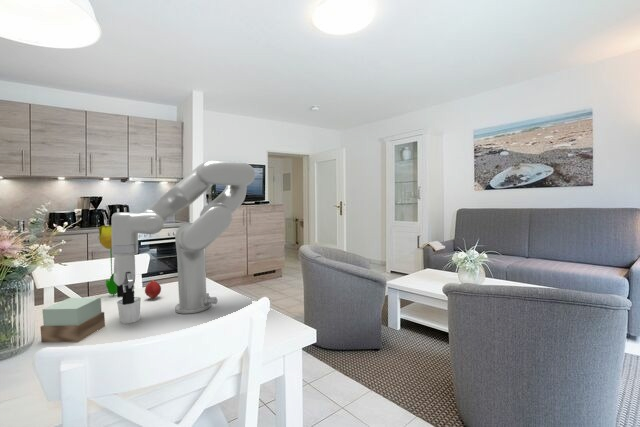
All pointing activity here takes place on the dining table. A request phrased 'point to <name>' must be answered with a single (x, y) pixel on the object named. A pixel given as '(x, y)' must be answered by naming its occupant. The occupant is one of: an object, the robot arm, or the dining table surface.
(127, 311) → the white cup
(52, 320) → the tower top block
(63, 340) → the tower base block
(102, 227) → the flower
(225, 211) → the robot arm
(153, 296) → the onion
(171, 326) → the dining table surface
